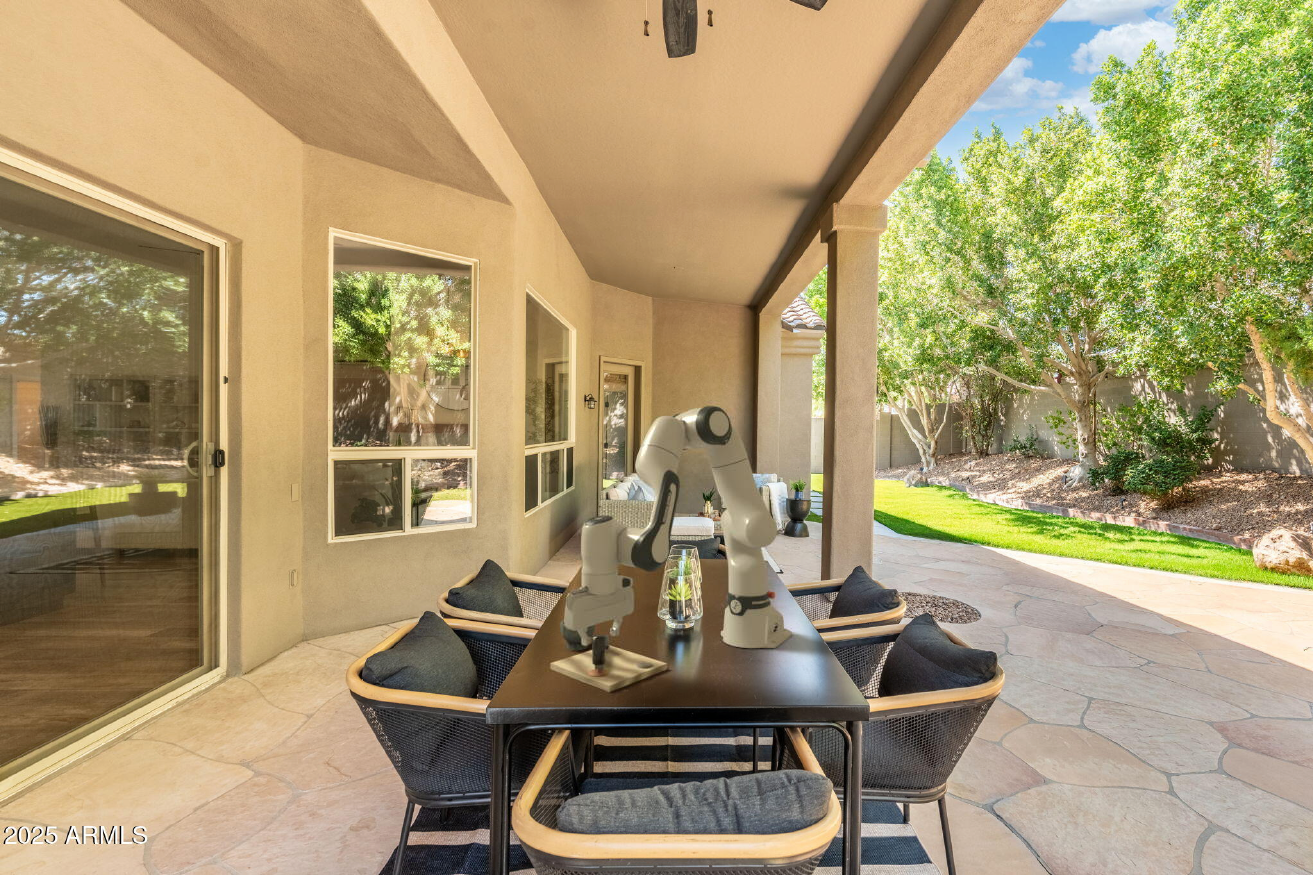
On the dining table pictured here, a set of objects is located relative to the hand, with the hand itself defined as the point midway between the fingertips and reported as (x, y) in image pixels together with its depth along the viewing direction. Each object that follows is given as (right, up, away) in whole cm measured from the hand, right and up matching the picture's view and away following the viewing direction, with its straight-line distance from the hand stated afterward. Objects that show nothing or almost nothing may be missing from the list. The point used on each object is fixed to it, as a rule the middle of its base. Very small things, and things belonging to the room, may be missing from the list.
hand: (600, 639), depth 155 cm
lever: (-1, -7, +8) cm, 11 cm away
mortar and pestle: (-8, -10, +24) cm, 28 cm away
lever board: (+1, -10, +7) cm, 12 cm away
